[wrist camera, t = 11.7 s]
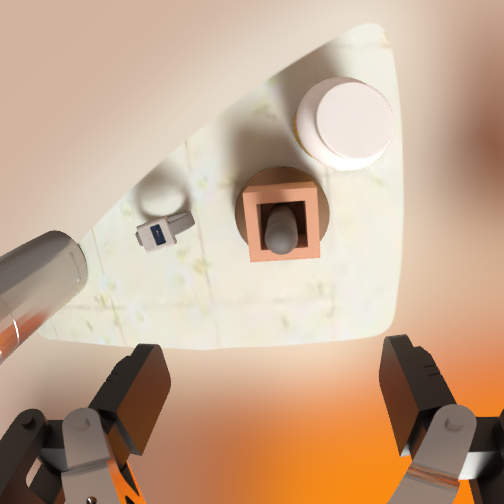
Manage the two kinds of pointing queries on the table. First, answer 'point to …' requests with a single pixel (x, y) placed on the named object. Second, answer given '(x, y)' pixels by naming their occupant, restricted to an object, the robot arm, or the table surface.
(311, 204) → the pink hollow square block
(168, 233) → the wristwatch
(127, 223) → the table surface
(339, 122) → the supplement bottle
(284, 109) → the table surface
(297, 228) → the post stand
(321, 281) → the table surface
